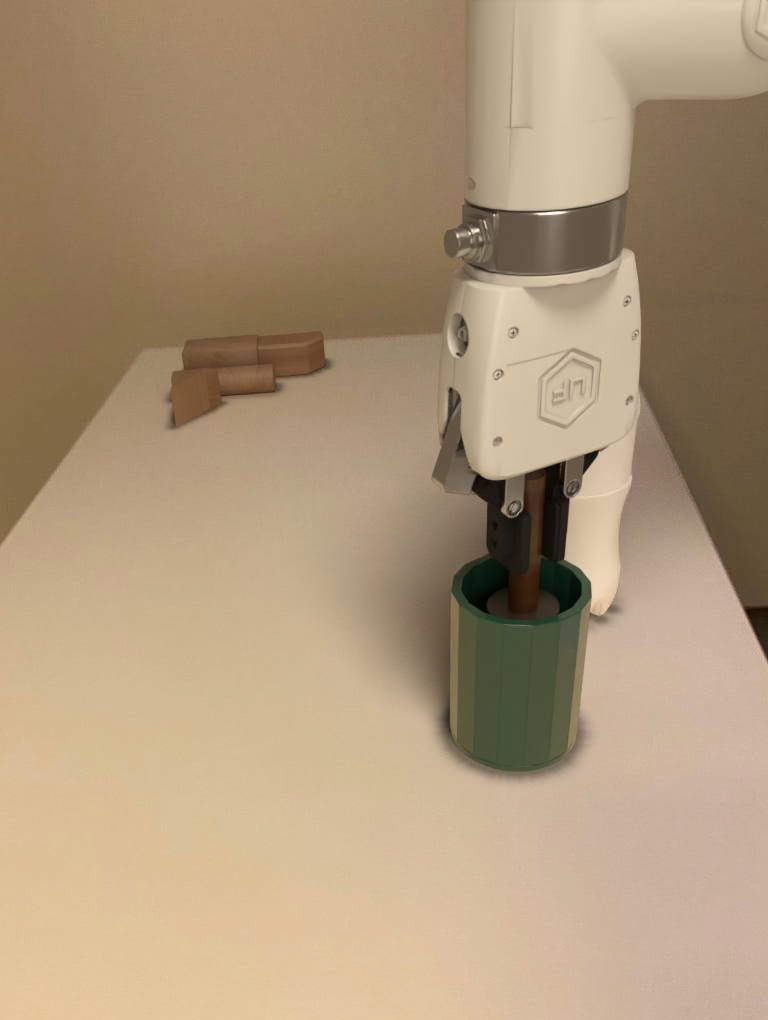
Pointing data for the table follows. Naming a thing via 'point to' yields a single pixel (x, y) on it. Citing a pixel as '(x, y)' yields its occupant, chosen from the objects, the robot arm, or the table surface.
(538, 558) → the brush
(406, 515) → the table surface
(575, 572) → the green faceted cup
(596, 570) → the water bottle
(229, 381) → the wooden block set
